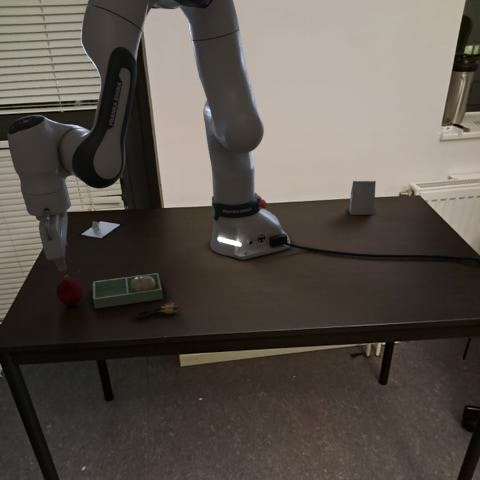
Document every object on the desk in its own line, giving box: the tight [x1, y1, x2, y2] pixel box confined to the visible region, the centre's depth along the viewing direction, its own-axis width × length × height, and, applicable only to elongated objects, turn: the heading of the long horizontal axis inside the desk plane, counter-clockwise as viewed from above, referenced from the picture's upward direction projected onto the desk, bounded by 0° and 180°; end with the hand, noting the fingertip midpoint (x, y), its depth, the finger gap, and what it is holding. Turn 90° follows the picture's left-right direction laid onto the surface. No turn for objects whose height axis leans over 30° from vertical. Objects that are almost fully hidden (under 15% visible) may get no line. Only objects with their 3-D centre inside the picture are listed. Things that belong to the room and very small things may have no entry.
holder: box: [92, 272, 164, 309], centre depth 123 cm, size 16×8×3 cm, turn 103°
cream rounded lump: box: [131, 275, 156, 292], centre depth 123 cm, size 6×4×4 cm
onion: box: [56, 274, 84, 307], centre depth 119 cm, size 6×6×8 cm
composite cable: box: [134, 301, 179, 320], centre depth 117 cm, size 10×5×2 cm, turn 96°
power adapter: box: [90, 221, 102, 233], centre depth 153 cm, size 3×3×3 cm
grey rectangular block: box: [348, 180, 377, 216], centre depth 158 cm, size 4×7×10 cm, turn 87°
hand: (63, 259), depth 114 cm, fingers open, 8 cm apart
